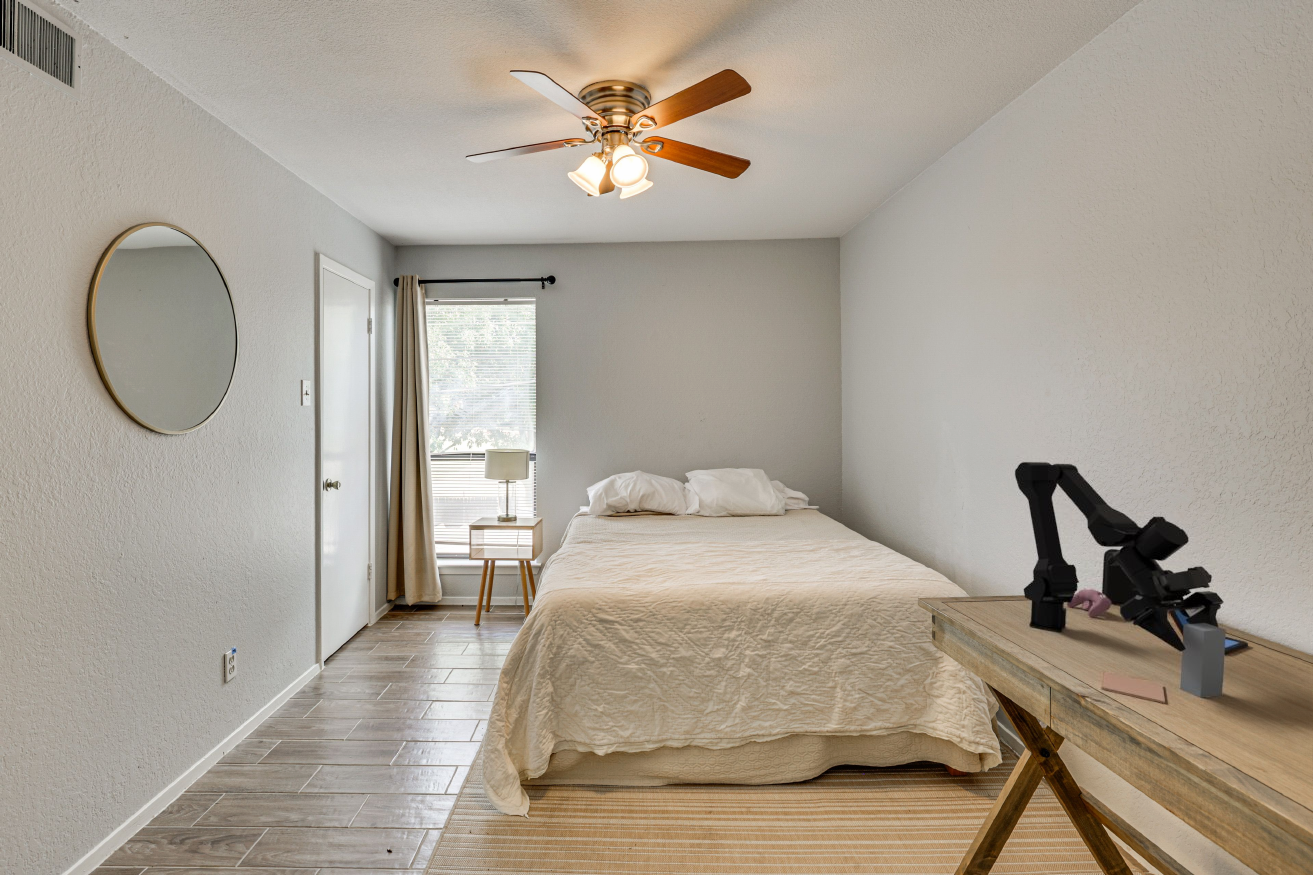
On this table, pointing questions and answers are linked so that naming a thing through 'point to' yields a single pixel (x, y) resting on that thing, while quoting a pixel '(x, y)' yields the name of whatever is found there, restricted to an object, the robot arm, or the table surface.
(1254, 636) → the table surface
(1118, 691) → the terracotta pad
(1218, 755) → the table surface
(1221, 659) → the grey rectangular pillar
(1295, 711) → the table surface
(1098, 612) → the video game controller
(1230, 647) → the handheld game console
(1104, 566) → the carrying case or bag
